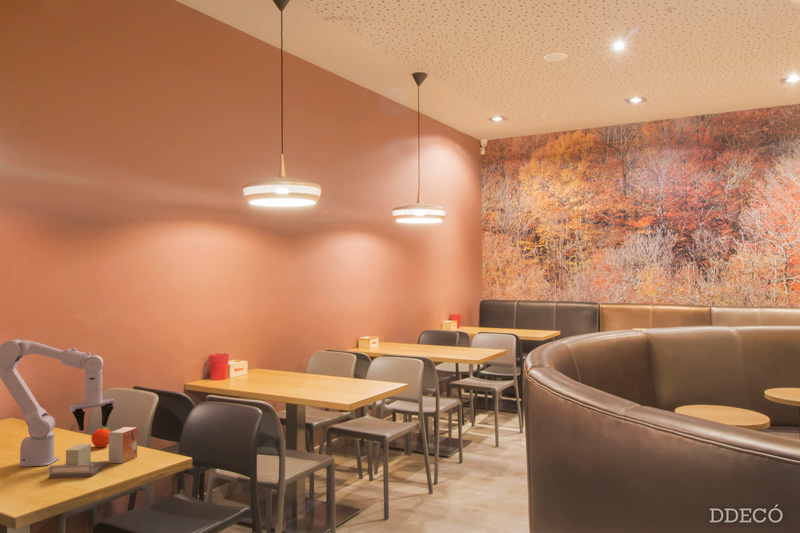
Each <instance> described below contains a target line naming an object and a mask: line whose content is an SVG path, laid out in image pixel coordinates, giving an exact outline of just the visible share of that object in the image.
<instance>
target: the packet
mask: <svg viewBox="0 0 800 533" xmlns="http://www.w3.org/2000/svg"><path fill="white" fill-rule="evenodd" d="M91 446H92V445H91V443H78V444H75V445H74V446H72V447H69V448H68V449H66V450H65V464H66V465H84V464H90V462H92V461H91V453H92V450H91V448H92V447H91Z"/></svg>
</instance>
